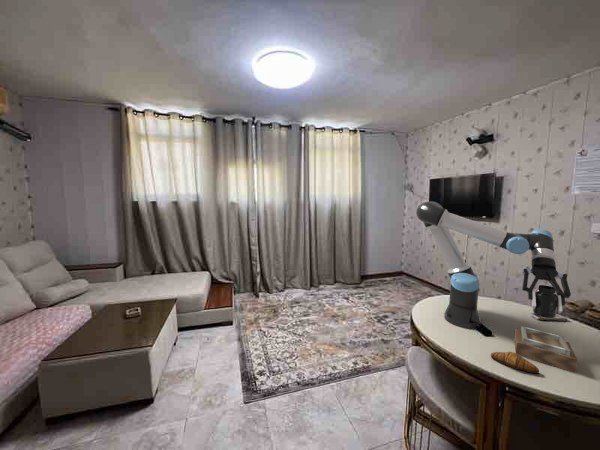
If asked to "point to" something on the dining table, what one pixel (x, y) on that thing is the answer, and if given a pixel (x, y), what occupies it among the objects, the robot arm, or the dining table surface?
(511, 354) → the croissant
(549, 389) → the dining table surface
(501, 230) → the robot arm
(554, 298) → the supplement bottle
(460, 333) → the dining table surface
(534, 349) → the walnut tray
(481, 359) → the dining table surface
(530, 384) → the dining table surface
